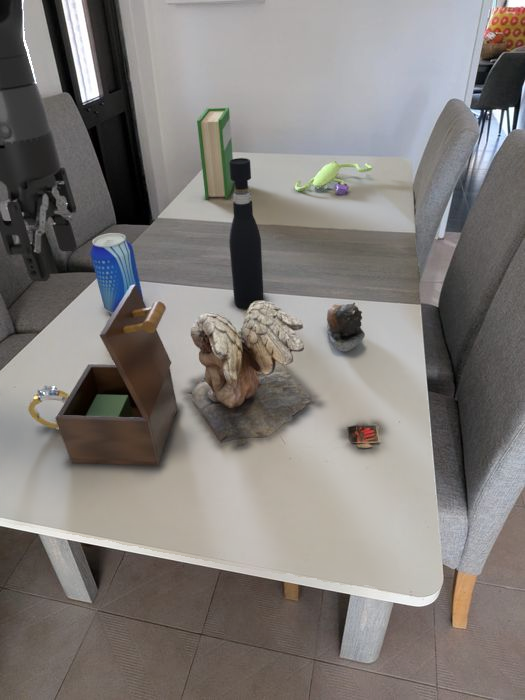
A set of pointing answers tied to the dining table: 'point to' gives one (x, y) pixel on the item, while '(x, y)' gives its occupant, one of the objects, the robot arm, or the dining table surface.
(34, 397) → the ring
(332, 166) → the figurine
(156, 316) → the lid
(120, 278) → the beer can
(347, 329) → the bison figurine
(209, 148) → the hardback book
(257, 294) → the black bottle
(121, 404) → the block
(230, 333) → the cherub figurine
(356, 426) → the matchbox
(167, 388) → the chest
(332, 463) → the dining table surface
